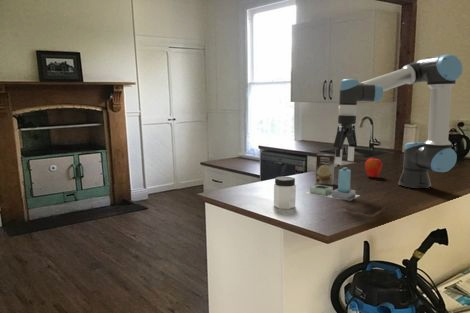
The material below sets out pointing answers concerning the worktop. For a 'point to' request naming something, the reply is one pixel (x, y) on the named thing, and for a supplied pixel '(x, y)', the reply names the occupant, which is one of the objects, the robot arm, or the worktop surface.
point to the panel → (332, 192)
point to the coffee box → (325, 169)
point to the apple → (373, 167)
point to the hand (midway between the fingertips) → (344, 162)
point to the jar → (284, 192)
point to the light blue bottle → (344, 180)
